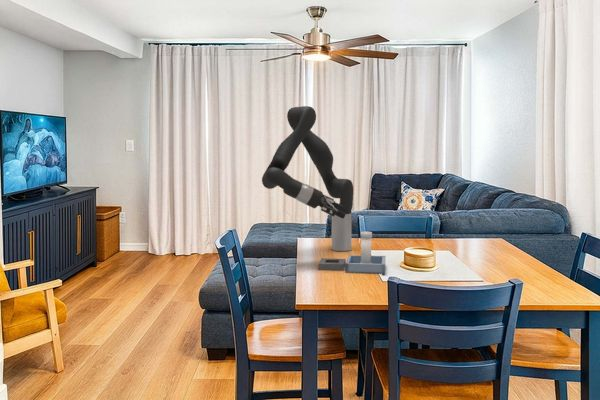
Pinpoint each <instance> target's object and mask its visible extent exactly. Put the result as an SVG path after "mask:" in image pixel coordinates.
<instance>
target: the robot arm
mask: <svg viewBox="0 0 600 400" xmlns="http://www.w3.org/2000/svg"><path fill="white" fill-rule="evenodd" d="M286 118H287V122H288V124H289V126H290V127H291V130H292V133H290V134H289V135H288V136H287V137H286V138H285V139H284V140H282V141H281V143H280V144H279V145H278V148H276V150H275V153H274V155H273V156H272V159H271V161H270V163H269V165H268V166H267V168H266V170H265V171H264V173H263V175H262V177H261V182H262V183H261V184H262V185H263V187H264V188H266V189H268V190H269V189H270V190H273V189H275V188H276V187H279V188H281V189H282V190H283V193H284V195H286V196H289V197H290V198H293V199H295V200H296V201H298V202H300V203H301V204H303V205H306V206H308V207H310V208H312V209H316V208H317V207H320V211H321V212H323V213H326V214H327V215H329V216H331V250H332V251H334V252H335V251H336V252H348V251H351V250H352V209H353V206H354V183H353V181H352V180H351V179H349V178H338V177H337V176H336V175H335V172H334V170H333V165H334V155H333V153H332V151H331V149H330V148H329V145H328V144H327V142H325V141H324V140H323V139H322V138H320V137H319V136H318V135H317V134H315V133H314V132H313V131H312V128H313V127H314V125H315V123H316V121H317V112H316V110H315V109H314V108H313V107H312V106H308V105H306V106H305V105H304V106H303V105H302V106H294V107H290V109H288V111H287V113H286ZM301 143H302V145H303V147H304V148H305V150H306V151H307V154H308V156H309V157H310V159H311V161H312V163H313V165H314V166H315V168H316V169H317V171H318V174H319V175H320V177H321V179H322V181H323V184H324V186H325V189H326V191H327V192H328V194H329V196H328V195H325V194H324V193H323V191H321V190H319V189H317V188H315V187H313V186H311V185H309V184H305V183H304V182H302V181H299V180H297V179H294V178H293V177H292V175H289V174H288V173H287V172H286V169H288V166H289V165H290V163H291V161H292V159H293V156H294V155H295V152H296V151H297V149H298V147H299V146H300V144H301ZM334 199H339V203H338V202H336V200H334Z"/></svg>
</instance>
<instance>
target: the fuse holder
mask: <svg viewBox="0 0 600 400" xmlns="http://www.w3.org/2000/svg"><path fill="white" fill-rule="evenodd" d="M346 261H347V259H346V258H327V257H326V258H324V257H321V258H320V260H319V262H318V263H317V266H318V267H317V270H318V271H337V272H339V271H340V272H341V271H342V272H345V263H346Z"/></svg>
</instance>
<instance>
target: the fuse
mask: <svg viewBox="0 0 600 400" xmlns="http://www.w3.org/2000/svg"><path fill="white" fill-rule="evenodd" d="M372 238H373V232H372V231H366V230H365V231H360V255H361V262H360V263H364V264H371V263H372V262H371V256H372Z"/></svg>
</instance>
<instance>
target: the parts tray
mask: <svg viewBox="0 0 600 400" xmlns="http://www.w3.org/2000/svg"><path fill="white" fill-rule="evenodd" d="M360 262H361V254H359V255H358V254H348V256H347V259H346V263H345V268H344V272H345V273H346V274H371V275H372V274H374V275H375V274H378V275H380V274H381V276H385V274H386V255H371V262H372V263H371V264H364V263H360Z"/></svg>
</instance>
